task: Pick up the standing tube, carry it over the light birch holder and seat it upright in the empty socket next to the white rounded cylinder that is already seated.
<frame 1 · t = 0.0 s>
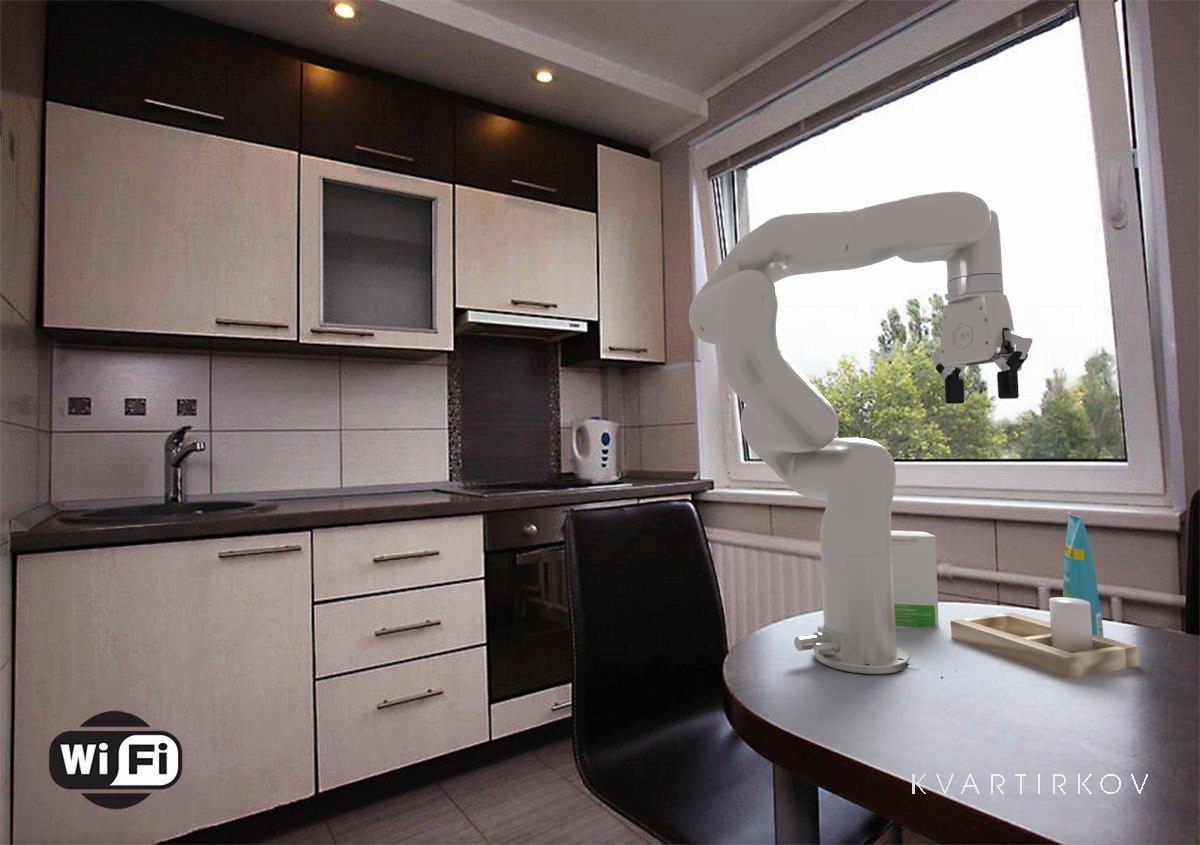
hand: (980, 401, 98), 37 cm above the table, tool pointing down, fingers open, 9 cm apart
white rounded cylinder: (1072, 661, 84), point 1 cm above the table, touching birch holder
skincare box: (908, 627, 106), on the table
tube: (1083, 645, 93), on the table
birch holder: (1038, 657, 89), on the table
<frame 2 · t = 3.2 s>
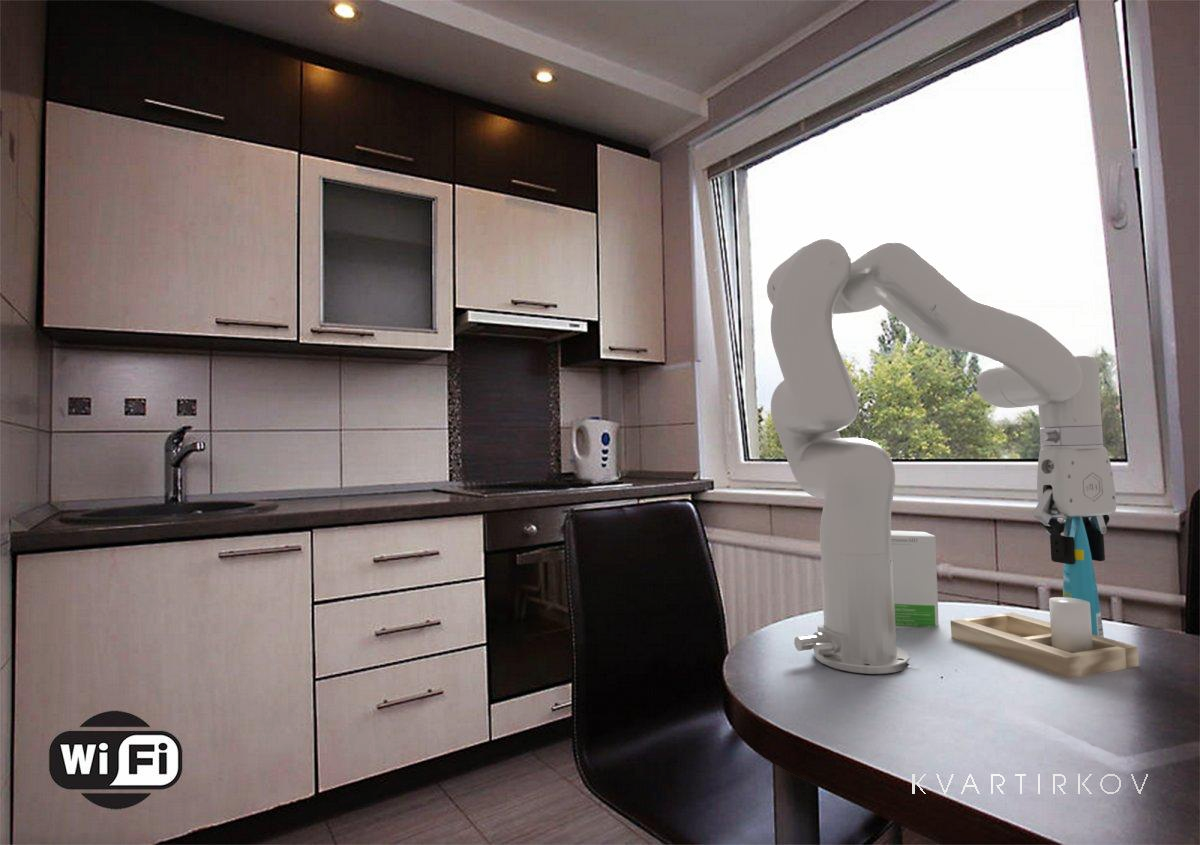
hand: (1078, 559, 94), 12 cm above the table, tool pointing down, fingers closed on tube, 5 cm apart
tube: (1083, 645, 93), on the table, touching gripper
everything else where it was.
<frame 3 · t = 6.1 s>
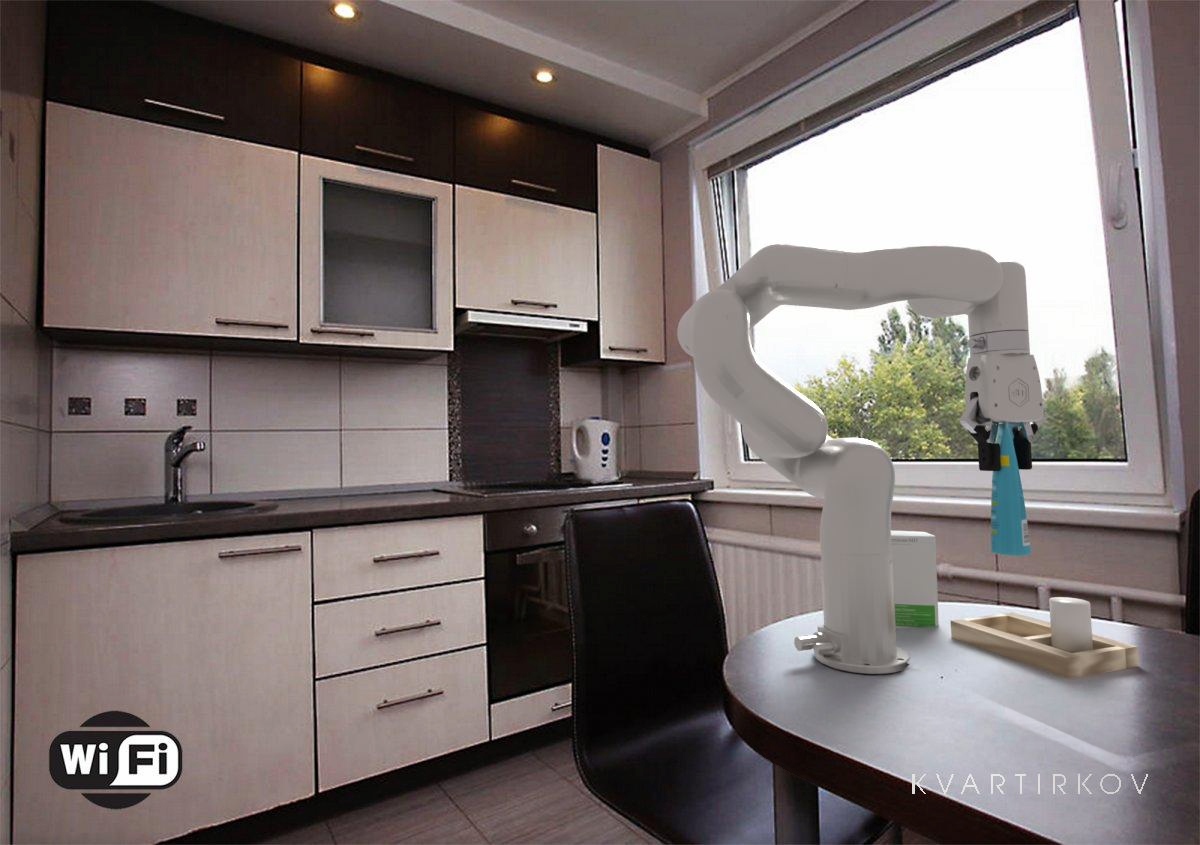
hand: (1005, 468, 93), 26 cm above the table, tool pointing down, fingers closed on tube, 5 cm apart
tube: (1009, 555, 92), point 14 cm above the table, touching gripper
everything else where it was.
when the fingers open (14 cm above the table, at t = 9.0 s): tube stays where it is, resting on birch holder.
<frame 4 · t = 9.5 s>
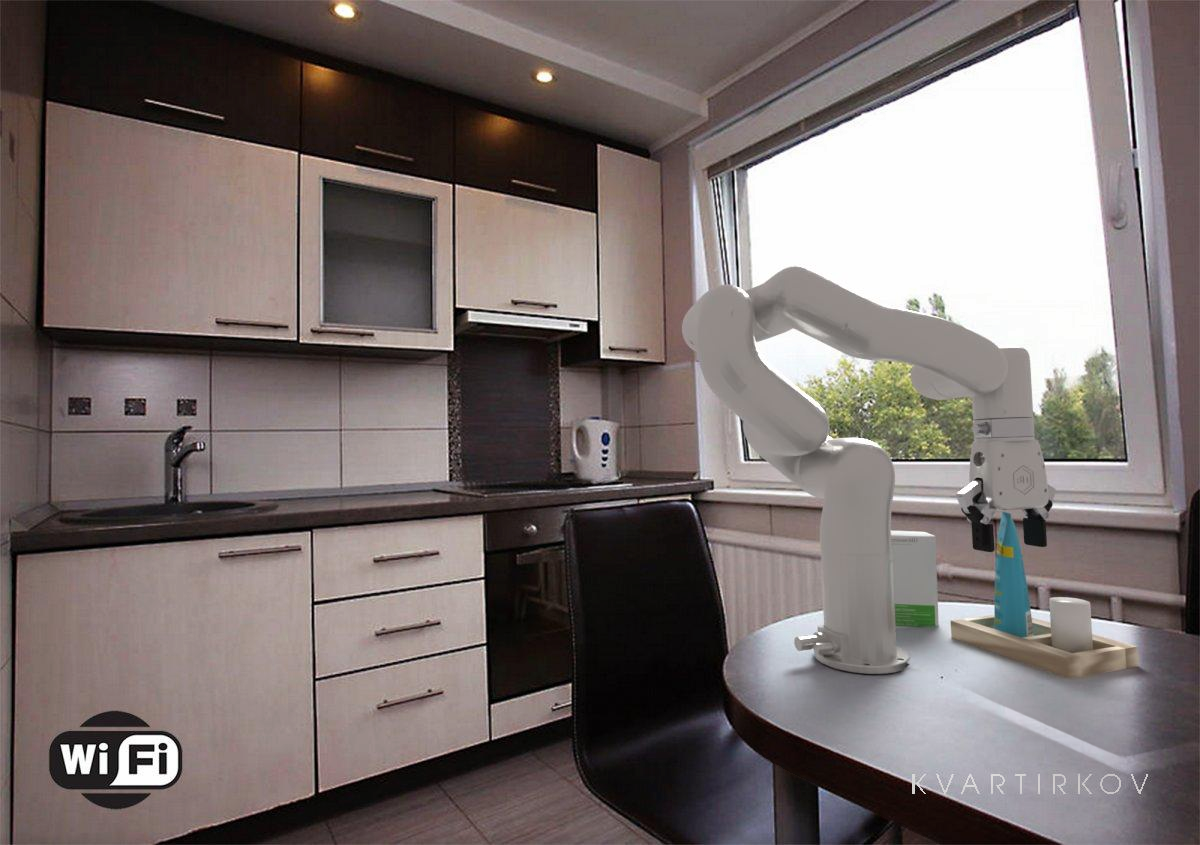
hand: (1009, 548, 93), 15 cm above the table, tool pointing down, fingers open, 9 cm apart
tube: (1013, 644, 92), point 1 cm above the table, touching birch holder
everything else where it was.
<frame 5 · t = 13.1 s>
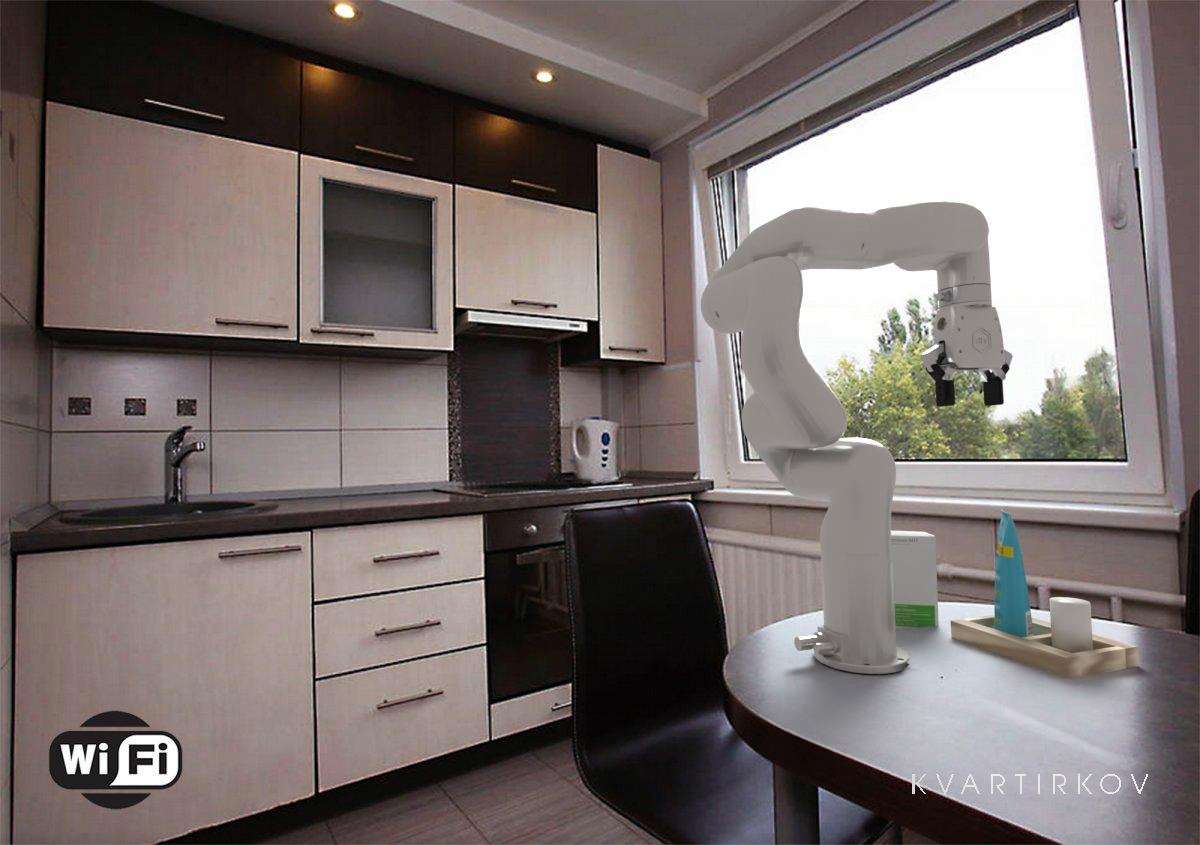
hand: (970, 405, 102), 36 cm above the table, tool pointing down, fingers open, 9 cm apart
nothing on the table moved.
at the end: tube 0.3 cm from the target spot on the birch holder, point 0.8 cm above the birch holder's base; tube tilted 0°; the gripper is holding nothing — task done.
